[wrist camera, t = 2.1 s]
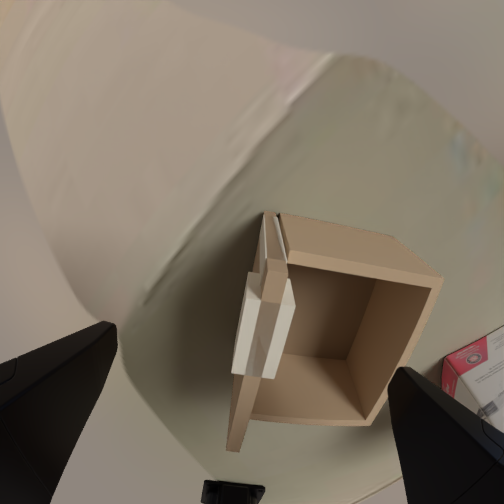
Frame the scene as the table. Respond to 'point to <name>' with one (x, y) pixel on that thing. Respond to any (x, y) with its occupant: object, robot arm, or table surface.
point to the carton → (345, 323)
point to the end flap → (260, 326)
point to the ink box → (478, 377)
